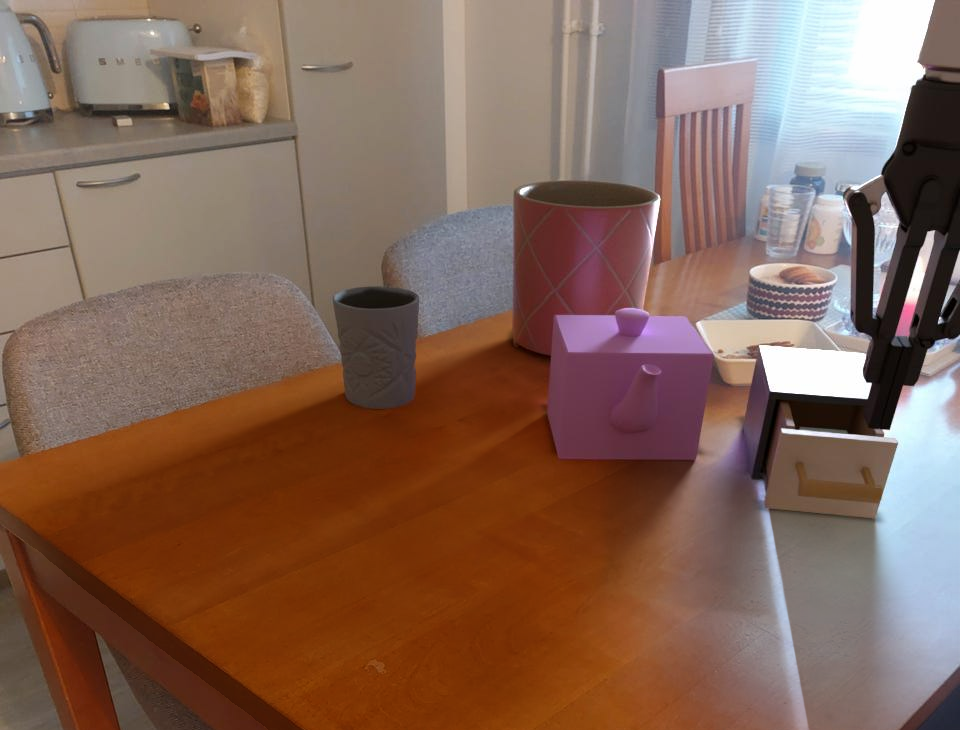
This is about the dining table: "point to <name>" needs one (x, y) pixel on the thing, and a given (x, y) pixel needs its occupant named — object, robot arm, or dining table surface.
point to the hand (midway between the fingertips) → (876, 422)
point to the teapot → (627, 386)
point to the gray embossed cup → (378, 344)
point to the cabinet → (798, 389)
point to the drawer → (826, 460)
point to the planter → (578, 253)
